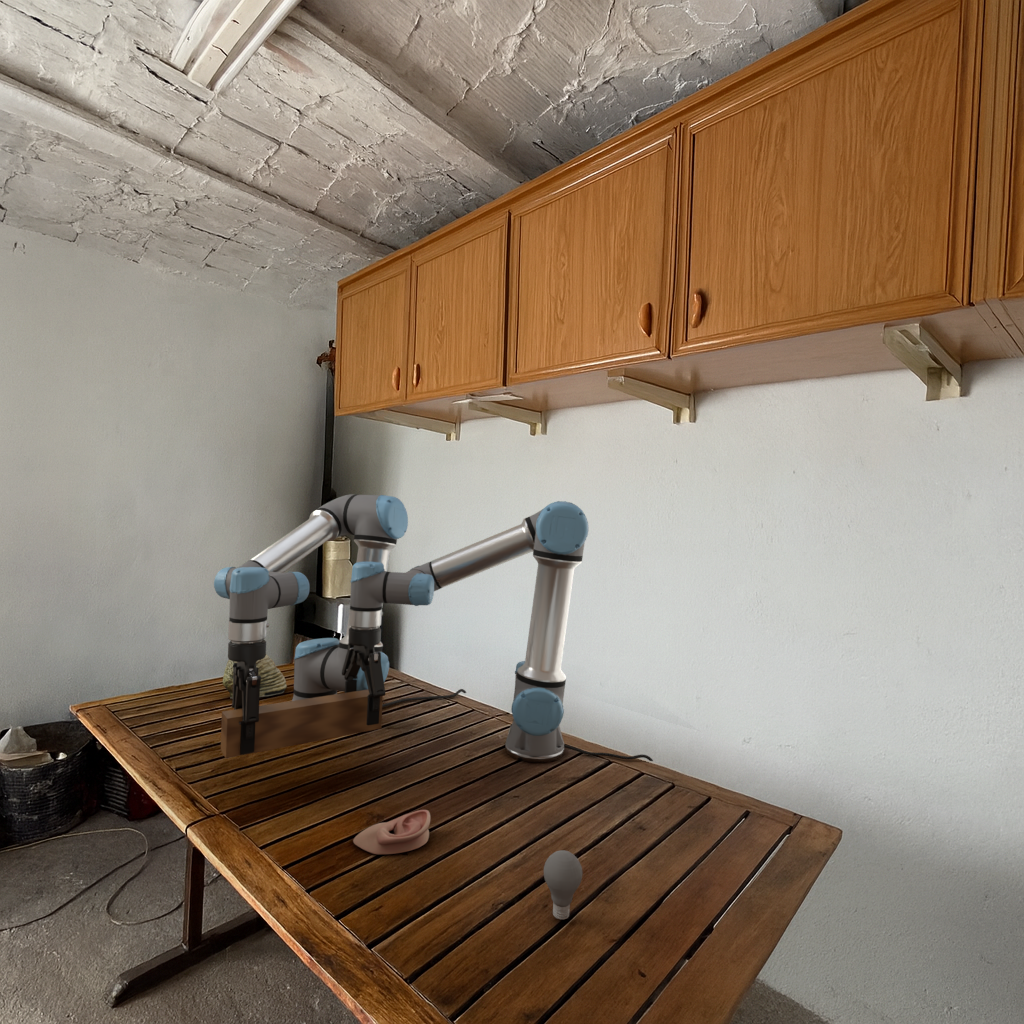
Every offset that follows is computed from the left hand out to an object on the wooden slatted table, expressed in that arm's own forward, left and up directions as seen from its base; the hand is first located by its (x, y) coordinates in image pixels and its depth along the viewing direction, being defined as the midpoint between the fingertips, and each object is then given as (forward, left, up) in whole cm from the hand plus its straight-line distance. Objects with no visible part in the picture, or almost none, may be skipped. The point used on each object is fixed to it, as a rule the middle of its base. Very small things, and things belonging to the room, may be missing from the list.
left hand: (243, 747), depth 136 cm
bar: (-13, +3, -1) cm, 13 cm away
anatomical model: (-8, +39, -9) cm, 41 cm away
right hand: (-26, +7, +3) cm, 27 cm away
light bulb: (-11, +75, -9) cm, 76 cm away
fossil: (-34, -57, -9) cm, 67 cm away
